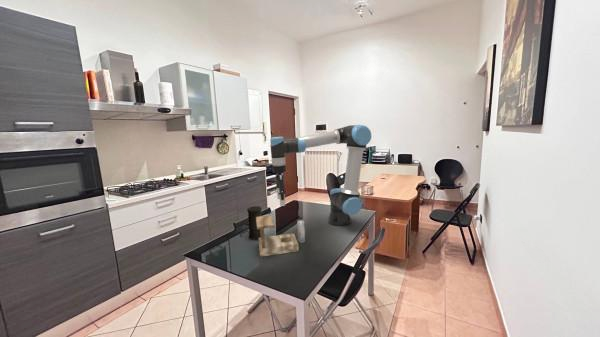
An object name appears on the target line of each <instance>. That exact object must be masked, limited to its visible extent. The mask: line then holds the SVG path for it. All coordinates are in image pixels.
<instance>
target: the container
mask: <svg viewBox="0 0 600 337" xmlns="http://www.w3.org/2000/svg"><path fill="white" fill-rule="evenodd" d="M262 210H263V209H262V206H258V205H257V206H256V205H255V206H250V207H248V208H247V214H248V215H247V218H248V239H250V240H254V241H257V240H258V241H259V238H261V235H260V229H257V222H256V217H260V216H263V215H262Z"/></svg>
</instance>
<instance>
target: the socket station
mask: <svg viewBox="0 0 600 337" xmlns="http://www.w3.org/2000/svg"><path fill="white" fill-rule="evenodd" d="M256 222H257V229H260V235H261V238H259V239H258V246H259V248H258V250H259V257H261V258H262V257H267V256H275V255H282V254H289V253H295V252H299V251H300V250H299V242H298V239H297V238H296V236H295V234H294V233H287V234H286V233H285V234H279V235H278V234H277V235H270V236H265V229H270V228H275V222H274V220H273V216H272V215H262V216H260V217H256Z"/></svg>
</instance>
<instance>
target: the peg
mask: <svg viewBox="0 0 600 337" xmlns="http://www.w3.org/2000/svg"><path fill="white" fill-rule="evenodd" d="M296 222H297V223H296V224H297V242H298V244H299V243H300V244H303V243H305V242H306V228H305V226H306V225H305V220H304V219H298V220H297V221H296Z"/></svg>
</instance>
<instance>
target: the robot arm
mask: <svg viewBox="0 0 600 337" xmlns="http://www.w3.org/2000/svg"><path fill="white" fill-rule="evenodd" d="M371 140H372V132H371V129H370V128H369V127H368V126H367V125H364V124H353V125H352V124H350V125H346V126H343V127H340V128H334V130H333V131H332V130H331V131H327V132H321V133H315V134H309V135H303V136H299V137H293V138H286V139H285V138H284V136H274V137H273V136H272V137H270V140H269V142H270V143H269V144H270V145H269V146H270V155H271V156H270V157H271V158H270V162H271V165H272V166H271V171H272V173H274V174H275V181H276V183H275V184H276V195H277V196H276V197H277V200H279V206H280V207H284V206H286V197H285V196H286V195H285V194H286V191H285V181H284V175H283V173H285V172H286V171H287V169H286V154H298V153H299V154H300V153H305V152H306V150H307V149H308V148H309V149H310V148H315V147H320V146H325V145H332V144H336V145H340V144H345V145H346V149H348V152H347V159H346V160H347V161H346V168H345V176H344V184H343V187H339V188H338V187H337V188H332V189H331V190H330V191H329V192H330V193H329V200H330V201H329V202H330V212H329V215H328V218H327V220H328V223H329V225H332V226H337V227H343V226H348V225H350V224H351V223H352V218H351V216H354V215H357V214H358V213H359V212H360V211H361V210H362V207H363V202H362V200H361V199H360V197H361V196H360V195H361V192H360V191H359V183H360V177H361V172H362V170H361V169H362V163H363V162H362V161H363V155H364V151H365V150H366V149H367V146H368V144H369V143H370V142H371Z"/></svg>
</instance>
